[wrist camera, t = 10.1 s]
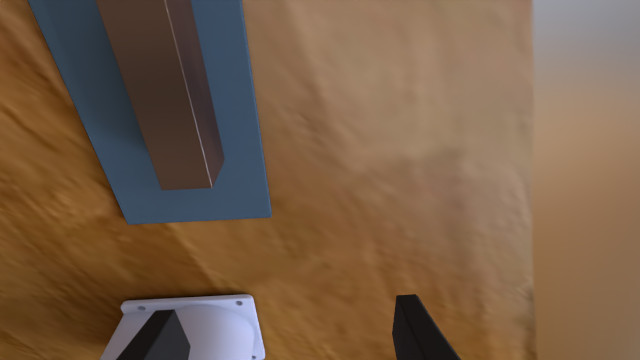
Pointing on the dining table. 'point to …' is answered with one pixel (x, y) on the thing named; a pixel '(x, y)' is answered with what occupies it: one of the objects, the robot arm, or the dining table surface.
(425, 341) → the robot arm
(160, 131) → the knife
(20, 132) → the dining table surface
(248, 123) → the mat
